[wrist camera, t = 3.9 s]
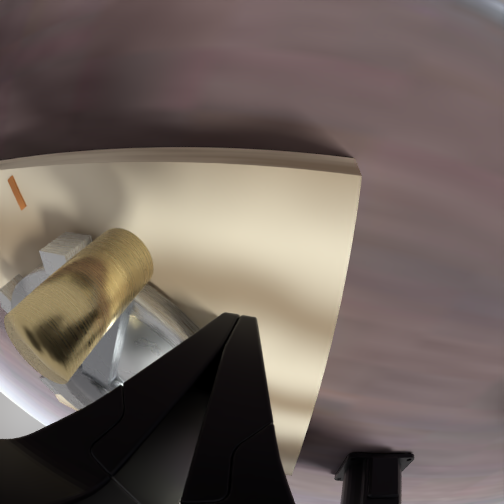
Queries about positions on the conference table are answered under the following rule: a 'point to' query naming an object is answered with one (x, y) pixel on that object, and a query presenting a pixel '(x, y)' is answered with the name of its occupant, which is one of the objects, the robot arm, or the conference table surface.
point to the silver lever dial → (91, 314)
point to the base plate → (209, 243)
